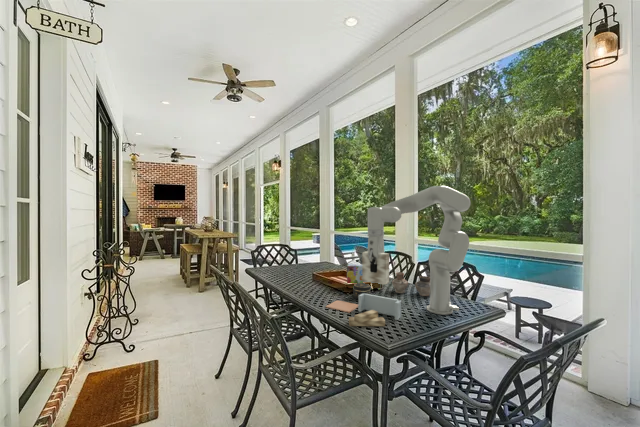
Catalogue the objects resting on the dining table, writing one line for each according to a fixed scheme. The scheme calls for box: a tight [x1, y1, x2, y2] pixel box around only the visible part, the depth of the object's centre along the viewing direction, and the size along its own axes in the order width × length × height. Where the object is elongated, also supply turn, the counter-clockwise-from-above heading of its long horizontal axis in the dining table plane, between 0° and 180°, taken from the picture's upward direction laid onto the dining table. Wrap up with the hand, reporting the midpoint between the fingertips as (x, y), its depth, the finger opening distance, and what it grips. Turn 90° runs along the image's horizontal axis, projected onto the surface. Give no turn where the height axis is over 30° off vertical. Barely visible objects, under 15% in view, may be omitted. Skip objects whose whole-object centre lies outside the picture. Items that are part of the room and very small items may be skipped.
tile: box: [325, 300, 358, 314], centre depth 161 cm, size 14×12×1 cm
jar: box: [352, 283, 372, 301], centre depth 175 cm, size 10×10×8 cm
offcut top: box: [353, 310, 379, 323], centre depth 138 cm, size 12×3×2 cm, turn 127°
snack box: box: [346, 263, 381, 291], centre depth 195 cm, size 21×6×15 cm, turn 84°
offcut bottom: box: [348, 316, 386, 327], centre depth 138 cm, size 16×4×3 cm, turn 90°
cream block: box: [361, 250, 390, 285], centre depth 145 cm, size 12×4×14 cm, turn 57°
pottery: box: [391, 271, 430, 297], centre depth 185 cm, size 11×25×12 cm, turn 70°
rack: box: [357, 293, 402, 321], centre depth 151 cm, size 20×5×8 cm, turn 57°
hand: (375, 270), depth 145 cm, fingers closed on cream block, 4 cm apart
